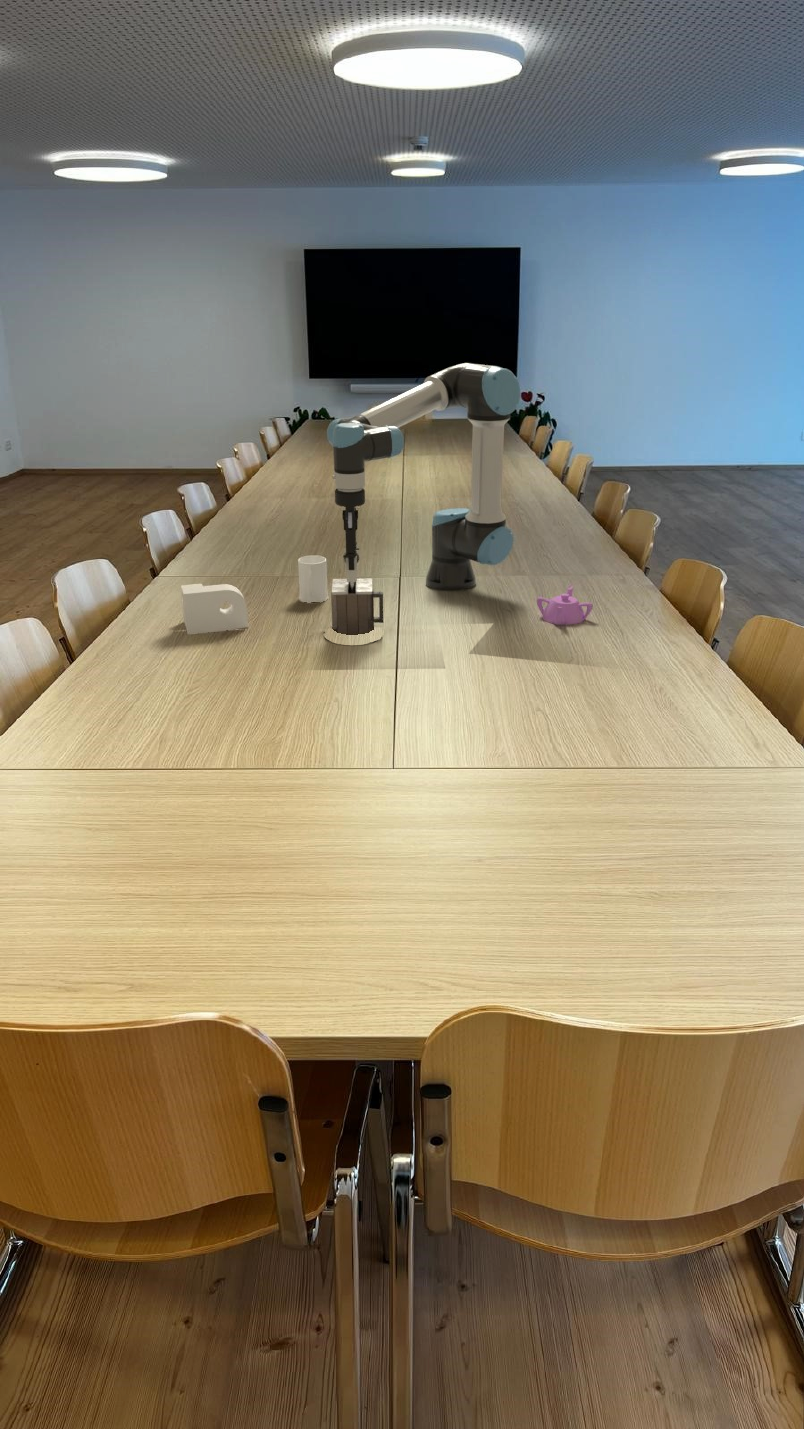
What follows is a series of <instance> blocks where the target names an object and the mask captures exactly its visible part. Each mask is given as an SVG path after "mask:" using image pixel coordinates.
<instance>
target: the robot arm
mask: <svg viewBox="0 0 804 1429" xmlns="http://www.w3.org/2000/svg"><path fill="white" fill-rule="evenodd" d="M520 398H521V386H520V382H519V380H518V378H517V376H516V375H515V374H514V373H513V372H512V371H511V370H510V369H508V368H503V367H501V366H498V365H488V364H486V365H485V364H479V363H473V362H464V363H458V364H456V365H452V366H449V367H447V368H444V369H442V370H440V371H437V372H435V373H434V374H431V375H429V376H427V377H425V379H424V381H423V383H422V384H419V385H417V386H415V387H413V388H411V389H409V390H407V391H405V392H403V393H401V394H399V395H396V396H395V397H392V398H390V399H388V400H386V401H384V402H382V403H380V404H378V405H376V406H374V407H372V408H370V409H368V410H365V411H363V412H362V413H359V414H357V415H355V416H353V417H351V418H349V419H346V418H337V419H334V420H332V421H331V422H330V423H329V425H328V427H327V429H326V438H327V441H328V443H329V444H330V445H331V447H332V451H333V453H332V454H333V470H334V473H333V474H332V475H331V479H333V480H334V487H335V489H334V503H335V505H337V506H339V507H344V508H345V509H343V510H342V520H343V530H344V531H345V553H346V555H345V554H344V555H343V557H342V558H343V559H344V558H346V563H345V569H346V571H345V572H346V576H345V577H346V578H345V579H347V582H357V579H358V563H357V555H356V552H357V553H358V551H359V550H360V546H357V545H358V544H357V530H358V523H359V522H358V519H359V509H357V508H356V507H361V506H363V505H364V504H366V490H365V489H364V488H365V486H366V478H365V477H366V474H365V473H366V472H365V465H366V464H365V463H366V462H371V461H376V460H383V459H390V458H392V457H397V456H399V455H400V454H401V453H402V452H403V450H404V445H405V442H404V441H405V439H404V438H405V437H404V435H403V433H402V430H400V428H401V427H403V426H405V425H407V424H409V423H412V422H413V421H415V420H417V419H419V418H421V417H423V416H424V415H427V414H429V413H431V412H433V411H434V410H435V411H437V412H440V411H444V410H445V409H449V408H455V407H456V408H460V407H461V408H466V409H467V416H466V417H467V418H466V419H467V420H468V421H469V423H471V425H472V439H471V440H472V443H471V477H470V478H471V481H470V482H471V483H470V484H471V485H470V486H471V487H470V488H471V489H470V508H465V507H464V508H463V507H458V508H457V507H456V508H447V509H441V510H438V511H436V512H435V513H433V516H432V524H431V562H430V565H429V568H428V570H427V573H426V576H425V586H426V587H428V588H429V589H432V590H436V591H446V592H457V591H458V592H459V591H466V590H470V589H472V588H474V587H475V586H476V581H477V580H476V574H475V571H474V568H473V564H472V561H474V562H476V563H479V564H480V565H486V566H493V567H494V566H497V565H499V564H501V563H503V562H504V561H505V560H506V559H507V557H508V556H509V555H510V554H511V551H512V549H513V545H514V539H515V537H514V532H512V530H511V529H510V528H509V527H507V526H506V525H507V524H506V523H507V516H506V515H505V513H503V511H502V491H503V467H504V466H503V465H504V464H503V463H504V442H505V441H504V438H505V437H504V436H505V425H506V424H507V422H508V421H510V420H511V414H512V413H513V412H514V411H515V410H516V409H517V407H518V406H517V405H519V403H520Z"/></svg>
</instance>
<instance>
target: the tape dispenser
mask: <svg viewBox="0 0 804 1429" xmlns="http://www.w3.org/2000/svg"><path fill="white" fill-rule="evenodd" d="M180 588H181V589H180V590H181V599H182V600H181V606H182V614H183V615H182V616H183V622H184V626H185V629H186V633H187V635H196V634H197V635H198V633H199V634H208V632H209V633H216V632H227V631H226V630H228V631H234V630H233V629H246V628H249V619H248V617H249V616H248V606H247V605H248V604H247V602H246V598H245V597H244V595H243V593H242V592H241V590H240V589H238V588H237V587H236V586H234V585H231V584H226V583H222V584H212V585H203V584H202V583H194V584H193V583H192V584H182V585H180ZM225 603H228V604H230V606H229V607H228V608H225V609H224V608H221V606H222V605H223V604H225Z"/></svg>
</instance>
